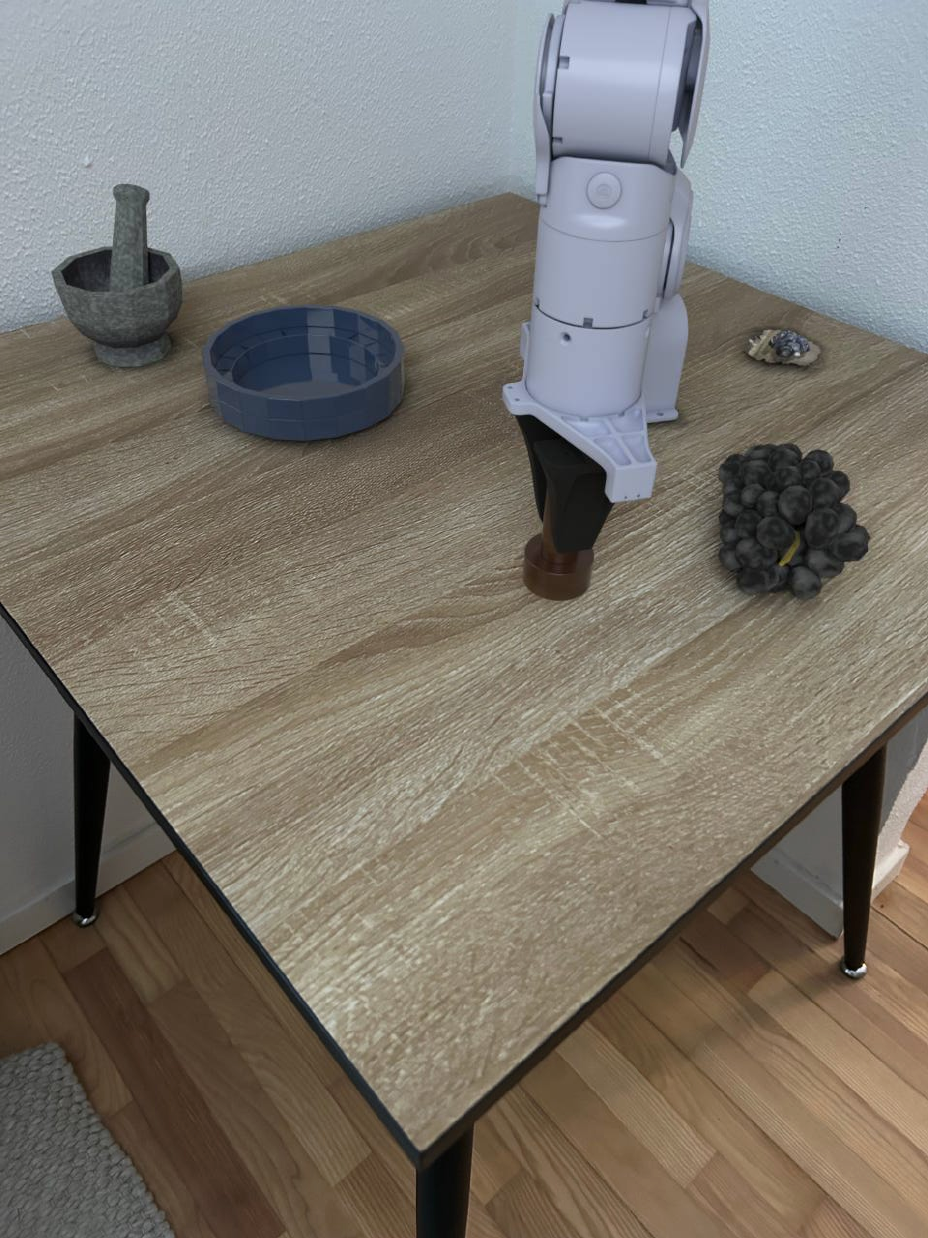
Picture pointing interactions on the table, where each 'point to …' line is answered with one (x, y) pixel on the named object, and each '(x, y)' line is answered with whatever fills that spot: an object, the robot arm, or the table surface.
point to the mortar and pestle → (123, 289)
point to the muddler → (555, 566)
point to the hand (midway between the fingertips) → (565, 532)
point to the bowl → (304, 371)
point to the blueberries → (783, 348)
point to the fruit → (786, 520)
